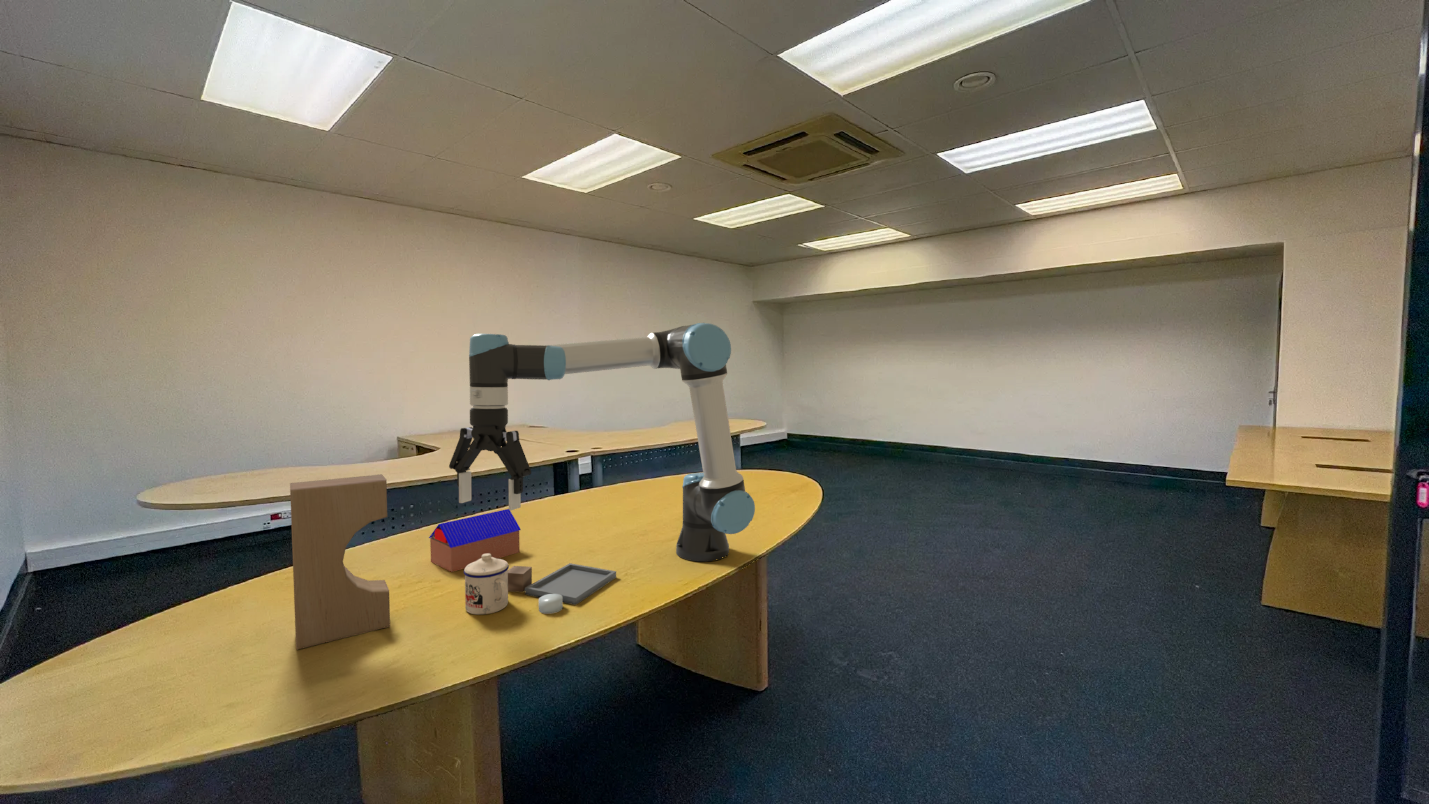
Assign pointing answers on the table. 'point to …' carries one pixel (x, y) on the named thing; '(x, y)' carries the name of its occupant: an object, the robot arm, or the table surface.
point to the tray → (571, 583)
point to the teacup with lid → (486, 585)
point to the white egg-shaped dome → (550, 603)
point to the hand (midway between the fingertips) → (489, 505)
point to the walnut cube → (519, 578)
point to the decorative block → (334, 559)
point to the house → (474, 539)
